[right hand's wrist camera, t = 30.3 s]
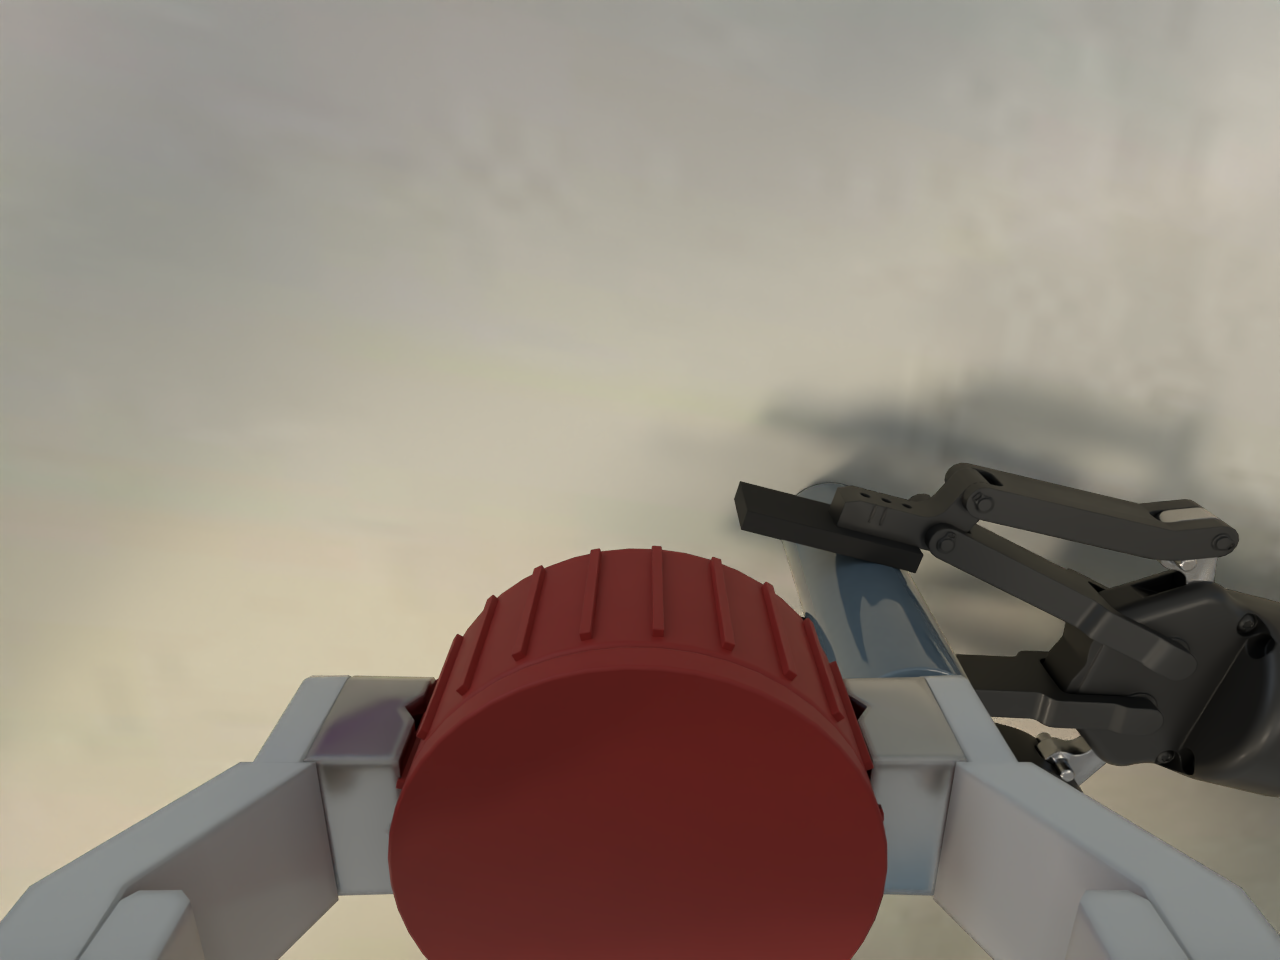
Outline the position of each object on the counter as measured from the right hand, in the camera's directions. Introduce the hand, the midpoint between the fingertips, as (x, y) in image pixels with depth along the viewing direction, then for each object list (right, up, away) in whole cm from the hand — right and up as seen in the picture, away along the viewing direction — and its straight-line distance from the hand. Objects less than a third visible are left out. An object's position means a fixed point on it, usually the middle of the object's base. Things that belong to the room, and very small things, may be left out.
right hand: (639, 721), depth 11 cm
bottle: (+8, +1, +28) cm, 30 cm away
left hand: (+3, 0, +22) cm, 22 cm away
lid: (0, -1, -2) cm, 2 cm away
